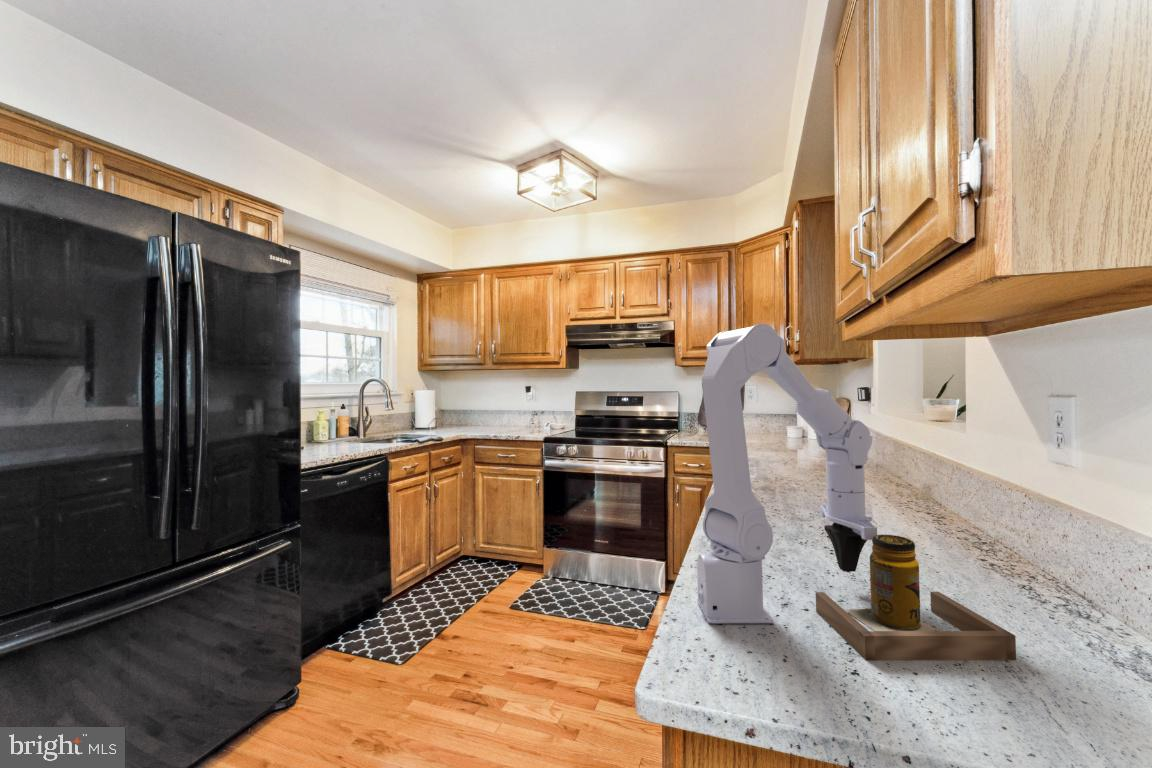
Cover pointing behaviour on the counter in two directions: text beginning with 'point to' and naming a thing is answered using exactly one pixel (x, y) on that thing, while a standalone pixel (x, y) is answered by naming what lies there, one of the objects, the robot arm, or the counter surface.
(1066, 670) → the counter surface
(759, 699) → the counter surface
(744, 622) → the robot arm
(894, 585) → the condiment
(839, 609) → the box
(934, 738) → the counter surface
